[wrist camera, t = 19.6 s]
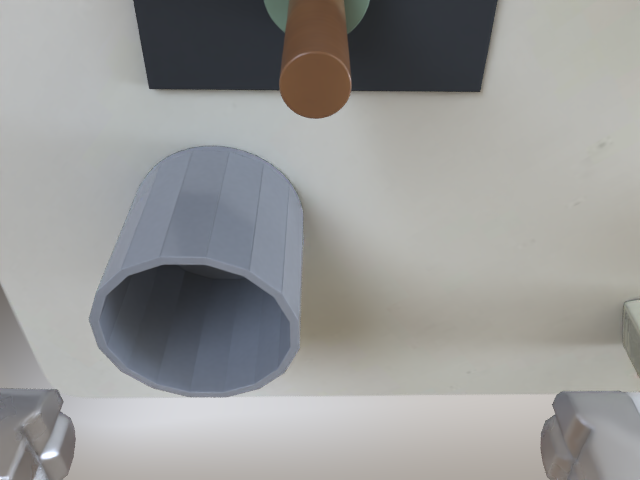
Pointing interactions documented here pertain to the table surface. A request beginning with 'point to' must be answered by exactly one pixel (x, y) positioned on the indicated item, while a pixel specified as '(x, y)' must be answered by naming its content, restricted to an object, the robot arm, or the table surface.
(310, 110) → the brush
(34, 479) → the robot arm
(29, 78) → the table surface
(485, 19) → the mat
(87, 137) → the table surface
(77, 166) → the table surface
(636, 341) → the box
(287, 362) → the tumbler
